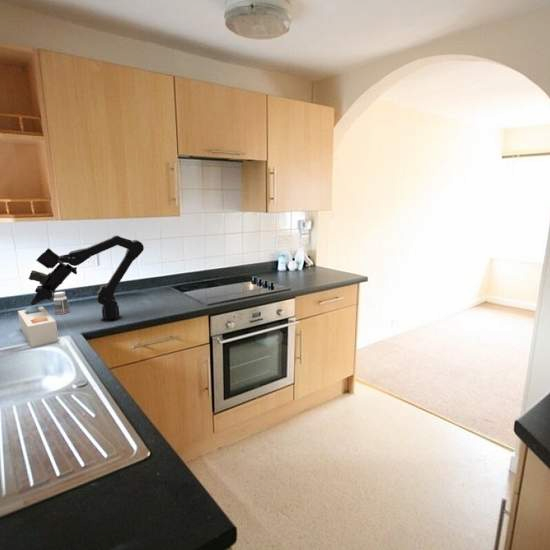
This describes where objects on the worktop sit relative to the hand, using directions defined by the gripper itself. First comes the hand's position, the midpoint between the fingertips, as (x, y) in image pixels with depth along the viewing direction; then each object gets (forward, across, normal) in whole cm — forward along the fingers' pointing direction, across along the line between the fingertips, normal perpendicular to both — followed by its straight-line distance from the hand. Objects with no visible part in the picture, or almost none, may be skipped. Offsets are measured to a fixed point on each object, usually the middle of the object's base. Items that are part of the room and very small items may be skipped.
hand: (31, 304), depth 153 cm
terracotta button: (+1, +15, +6) cm, 16 cm away
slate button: (+3, 0, +3) cm, 4 cm away
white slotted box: (+6, +7, +9) cm, 13 cm away
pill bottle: (+2, -22, +14) cm, 26 cm away
